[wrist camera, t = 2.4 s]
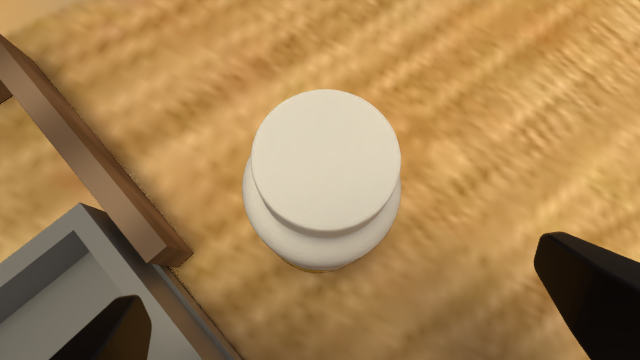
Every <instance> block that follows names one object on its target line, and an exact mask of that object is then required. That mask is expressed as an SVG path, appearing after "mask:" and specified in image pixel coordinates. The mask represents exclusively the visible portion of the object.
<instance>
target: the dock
mask: <svg viewBox="0 0 640 360" xmlns="http://www.w3.org/2000/svg"><path fill="white" fill-rule="evenodd" d="M12 95H13V96H14V97H15V98H16V100H17V101H18V102H19V103H20V105H21V106H22V107H23V108H24V110H25V111H26V112H27V113H28V115H29V116H30V117H31V118H32V120H33V121H34V122H35V123H36V125H37V126H38V127H39V128H40V130H41V131H42V132H43V134H44V135H45V136H46V137H47V139H48V140H49V141H50V142H51V144H52V145H53V146H54V147H55V149H56V150H57V151H58V152H59V154H60V155H61V156H62V157H63V159H64V160H65V161H66V162H67V164H68V165H69V166H70V167H71V169H72V170H73V171H74V172H75V174H76V175H77V176H78V178H79V179H80V180H81V181H82V183H83V184H84V185H85V186H86V188H87V189H88V190H89V191H90V193H91V194H92V195H93V196H94V198H95V199H96V200H97V201H98V203H99V204H100V205H101V206H102V208H103V209H104V210H105V211H106V213H107V214H108V215H109V217H110V218H111V219H112V220H113V222H114V223H115V224H116V225H117V227H118V228H119V229H120V230H121V232H122V233H123V234H124V235H125V237H126V238H127V239H128V240H129V242H130V243H131V244H132V245H133V247H134V248H135V249H136V250H137V252H138V253H139V254H140V255H141V257H142V258H143V259H144V261H145V262H146V263H148V264H156V265H163V266H170V267H177V268H178V267H179V266H180V265H181V264H182V263H183V262H184V261H186V260H187V259H188V258H189V257H190V256H191V255H193V254H194V253H193V252H192V251H191V250H190V248H189V247H188V246H187V245H186V244H185V242H184V241H183V240H182V239H181V238H180V236H179V235H178V234H177V233H176V232H175V230H174V229H173V228H172V227H171V226H170V224H169V223H168V222H167V221H166V220H165V218H164V217H163V216H162V215H161V214H160V212H159V211H158V210H157V209H156V208H155V206H154V205H153V204H152V203H151V202H150V200H149V199H148V198H147V197H146V196H145V194H144V193H143V192H142V191H141V190H140V188H139V187H138V186H137V185H136V184H135V182H134V181H133V180H132V179H131V178H130V176H129V175H128V174H127V173H126V172H125V170H124V169H123V168H122V167H121V166H120V164H119V163H118V162H117V161H116V160H115V158H114V157H113V156H112V155H111V154H110V152H109V151H108V150H107V149H106V148H105V146H104V145H103V144H102V143H101V142H100V140H99V139H98V138H97V137H96V136H95V134H94V133H93V132H92V131H91V130H90V128H89V127H88V126H87V125H86V124H85V122H84V121H83V120H82V119H81V118H80V116H79V115H78V114H77V113H76V112H75V110H74V109H73V108H72V107H71V106H70V104H69V103H68V102H67V101H66V100H65V98H64V97H63V96H62V95H61V94H60V92H59V91H58V90H57V89H56V88H55V86H54V85H53V84H52V83H51V82H50V80H49V79H48V78H47V77H46V76H45V75H44V73H43V72H42V71H41V70H40V69H39V67H38V66H37V65H36V64H35V63H34V61H33V60H31V59H30V58H29V57H28V56H27V55H25V54H24V53H23V52H22V51H20V50H19V49H18V48H17V47H15V46H14V45H13V44H12V43H11V42H9V41H8V40H7V39H6V38H4V37H3V36H2V35H1V34H0V103H2V102H3V101H5V100H6V99H8V98H9V97H11V96H12Z"/></svg>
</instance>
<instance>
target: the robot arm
mask: <svg viewBox="0 0 640 360" xmlns="http://www.w3.org/2000/svg"><path fill="white" fill-rule="evenodd" d="M534 268H535V271H536V273H537V274H538V276H539V278H540V280H541V281H542V283H543V285H544V286H545V288H546V290H547V292H548V293H549V295H550V297H551V298H552V300H553V302H554V304H555V305H556V307H557V309H558V311H559V312H560V314H561V316H562V317H563V319H564V321H565V323H566V324H567V326H568V327H569V329H570V331H571V332H572V334H573V335H574V337H575V338H576V340H577V341H578V342H579V344H580V345H581V347H582V348H583V350H584V351H585V352H586V354H587V355H588V357H589V358H590V359H591V360H640V263H639V262H637V261H634V260H632V259H629V258H627V257H624V256H622V255H619V254H617V253H614V252H612V251H609V250H607V249H604V248H602V247H599V246H597V245H594V244H592V243H589V242H587V241H584V240H582V239H580V238H577V237H575V236H572V235H570V234H567V233H565V232H551V233H545V234H543V235H542V236H541V237H540V239H539V243H538V246H537V250H536V254H535V257H534ZM151 333H152V323H151V319H150V317H149V314H148V312H147V310H146V308H145V306H144V304H143V301H142V299H141V298H140V296H138V295H135V294H133V295H126V296H120V297H117V298H116V299H114V300H113V301H112V302H111V303H110V304H109V305H108V306H106V307H105V308H104V309H103V310H102V311H101V312H100V313H99V314H98V315H97V316H96V317H94V318H93V319H92V320H91V321H90V322H89V323H88V324H87V325H86V326H85V327H83V328H82V329H81V330H80V331H79V332H78V333H77V334H76V335H75V336H74V337H73V338H71V339H70V340H69V341H68V342H67V343H66V344H65V345H64V346H63V347H62V348H61V349H59V350H58V351H57V352H56V353H55V354H54V355H53V356H52V357H51V358H50V359H49V360H147V358H148V352H149V345H150V339H151Z"/></svg>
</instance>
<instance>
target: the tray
mask: <svg viewBox="0 0 640 360" xmlns="http://www.w3.org/2000/svg"><path fill="white" fill-rule="evenodd" d="M133 294H135V295H138V296H140V298H141V299H142V301H143V304H144V306H145V308H146V310H147V312H148V314H149V317H150V319H151V323H152V333H151V339H150V345H149V352H148V358H147V360H242V359H241V358H240V356H239V355H238V354H237V353H236V352H235V350H234V349H233V348H232V347H231V345H230V344H229V343H228V342H227V340H226V339H225V338H224V337H223V335H222V334H221V333H220V332H219V330H218V329H217V328H216V327H215V326H214V324H213V323H212V322H211V321H210V319H209V318H208V317H207V316H206V314H205V313H204V312H203V311H202V309H201V308H200V307H199V306H198V304H197V303H196V302H195V301H194V300H193V298H192V297H191V296H190V295H189V293H188V292H187V291H186V290H185V288H184V287H183V286H182V285H181V283H180V282H179V281H178V280H177V278H176V277H175V276H174V275H173V273H172V272H171V271H170V270H169V269H168V267H167V266H163V265H156V264H148V263H146V262H145V261H144V259H143V258H142V257H141V255H140V254H139V253H138V252H137V250H136V249H135V248H134V247H133V245H132V244H131V243H130V242H129V240H128V239H127V238H126V237H125V235H124V234H123V233H122V232H121V230H120V229H119V228H118V227H117V225H116V224H115V223H114V222H113V220H112V219H111V218H110V217H109V215H108V214H107V213H106V212H104V211H102V210H99V209H96V208H93V207H91V206H88V205H85V204H82V203H79V204H77V205H76V206H75V207H73V208H72V209H71V210H69V211H68V212H67V213H66V214H64V215H63V216H62V217H60V218H59V219H58V220H56V221H55V222H54V223H52V224H51V225H50V226H49V227H47V228H46V229H45V230H43V231H42V232H41V233H39V234H38V235H37V236H36V237H34V238H33V239H32V240H30V241H29V242H28V243H26V244H25V245H24V246H22V247H21V248H20V249H19V250H17V251H16V252H15V253H13V254H12V255H11V256H9V257H8V258H7V259H6V260H4V261H3V262H2V263H0V360H49V359H50V358H51V357H52V356H53V355H54V354H55V353H56V352H57V351H58V350H59V349H61V348H62V347H63V346H64V345H65V344H66V343H67V342H68V341H69V340H70V339H71V338H73V337H74V336H75V335H76V334H77V333H78V332H79V331H80V330H81V329H82V328H83V327H85V326H86V325H87V324H88V323H89V322H90V321H91V320H92V319H93V318H94V317H96V316H97V315H98V314H99V313H100V312H101V311H102V310H103V309H104V308H105V307H106V306H108V305H109V304H110V303H111V302H112V301H113V300H114V299H116V298H117V297H120V296H126V295H133Z"/></svg>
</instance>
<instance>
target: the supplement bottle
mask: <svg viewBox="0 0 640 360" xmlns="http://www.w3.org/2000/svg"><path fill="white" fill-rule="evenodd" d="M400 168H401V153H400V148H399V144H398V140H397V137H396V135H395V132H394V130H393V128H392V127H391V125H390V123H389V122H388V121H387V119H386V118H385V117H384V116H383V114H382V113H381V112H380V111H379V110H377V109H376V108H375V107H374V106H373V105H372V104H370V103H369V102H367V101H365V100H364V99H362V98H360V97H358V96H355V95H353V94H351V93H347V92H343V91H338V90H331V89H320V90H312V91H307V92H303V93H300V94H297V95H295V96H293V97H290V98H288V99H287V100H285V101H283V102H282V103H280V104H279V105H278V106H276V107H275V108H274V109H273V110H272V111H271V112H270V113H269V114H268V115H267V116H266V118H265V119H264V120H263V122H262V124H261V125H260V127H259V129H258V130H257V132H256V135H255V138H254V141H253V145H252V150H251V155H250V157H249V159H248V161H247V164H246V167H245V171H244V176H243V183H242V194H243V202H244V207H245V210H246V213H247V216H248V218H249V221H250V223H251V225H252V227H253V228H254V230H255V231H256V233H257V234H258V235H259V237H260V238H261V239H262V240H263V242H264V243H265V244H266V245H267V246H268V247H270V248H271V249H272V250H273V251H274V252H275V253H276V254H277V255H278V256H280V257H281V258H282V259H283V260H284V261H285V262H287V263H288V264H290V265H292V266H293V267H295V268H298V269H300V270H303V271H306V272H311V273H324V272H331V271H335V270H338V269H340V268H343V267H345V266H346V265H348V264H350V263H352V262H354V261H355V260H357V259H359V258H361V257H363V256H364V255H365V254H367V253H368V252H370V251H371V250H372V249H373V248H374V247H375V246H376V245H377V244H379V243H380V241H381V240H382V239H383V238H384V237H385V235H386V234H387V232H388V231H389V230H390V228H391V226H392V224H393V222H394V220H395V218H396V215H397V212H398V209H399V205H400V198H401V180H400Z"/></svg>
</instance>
